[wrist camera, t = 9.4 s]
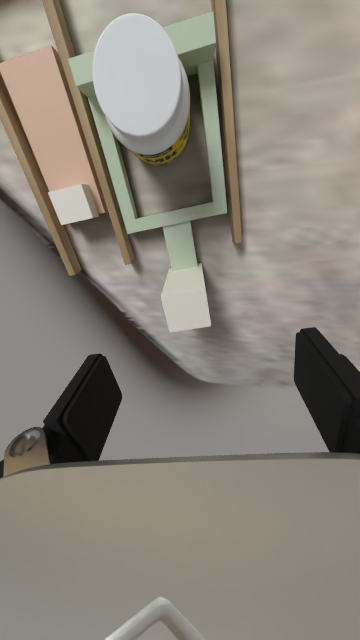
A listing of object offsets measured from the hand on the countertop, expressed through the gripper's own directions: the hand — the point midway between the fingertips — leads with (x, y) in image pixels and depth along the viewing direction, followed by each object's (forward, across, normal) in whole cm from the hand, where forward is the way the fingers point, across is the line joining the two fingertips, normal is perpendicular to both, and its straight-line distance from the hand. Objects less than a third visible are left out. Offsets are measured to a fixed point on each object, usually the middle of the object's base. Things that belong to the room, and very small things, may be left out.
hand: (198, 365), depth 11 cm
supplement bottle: (+13, +1, -12) cm, 18 cm away
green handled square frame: (+13, +1, -7) cm, 15 cm away
